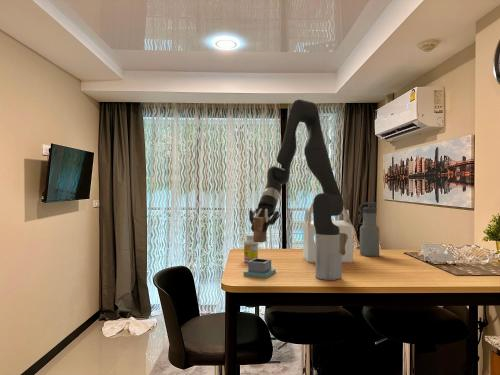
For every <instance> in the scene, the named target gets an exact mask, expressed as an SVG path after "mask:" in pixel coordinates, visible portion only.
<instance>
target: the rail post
mask: <svg viewBox="0 0 500 375" xmlns="http://www.w3.org/2000/svg"><path fill="white" fill-rule="evenodd" d="M265 219H266V217H255V216H254V232H253V234H254V242H258V243H265V242H267V231H265V233H263V231H262V228H263V225H264V223H265Z"/></svg>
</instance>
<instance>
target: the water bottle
mask: <svg viewBox="0 0 500 375" xmlns="http://www.w3.org/2000/svg"><path fill="white" fill-rule="evenodd" d="M367 205H369V206H367ZM376 205H377V203H376V202H375V201H374V202H373V201H371V202H370V201H367V202H362V203H361V204H359V206H358V212H359V214H358V216H357V217H358V220H357V222H358V225H360V227H359V254H360V255H361V256H363V255H365V256H364V257H379V256H380V227H379V226H378V225H377V212H378V211H377V207H376ZM361 216H362V222H361Z"/></svg>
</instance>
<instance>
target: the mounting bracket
mask: <svg viewBox="0 0 500 375" xmlns="http://www.w3.org/2000/svg"><path fill="white" fill-rule="evenodd" d="M421 247H422V248H421V249H422V253H423V259H424V261H425V260H430V261H431V262H430V263H432V262H434V263H437V262H444V263H446V262H445V261H452V262H454V261H456V262H457V260H456V258H455V256H454V255H453V252H451V250H450V249H449V248H448V249H445V250H444V247H443V246H442V244H437V243H435V244H434V243H431V244H430V243H424V244H422V245H421ZM430 250H434V251H436V252H433V253H429V251H430Z"/></svg>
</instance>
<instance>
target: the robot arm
mask: <svg viewBox="0 0 500 375" xmlns="http://www.w3.org/2000/svg"><path fill="white" fill-rule="evenodd" d="M320 118H321V117H320V112H319V108H318V106H317V104H316V103H314V102H313V101H308V100H305V99H300V98H299V99H295V100H294V101H293V102H292V104H291V106H290V109H289V112H288V115H287V121H286V125H285V126H286V127H285V130H284V135H283V140H282V143H281V146H280V149H279V151H278V153H277V157H276V162H277V163H279V165H281V166H283V168H282V167H279V166H277V165H271V166H270V167H268V169H267V172H266V185H265V188H264V190H263V192H262V194H261V197H260V198H259V201H258V205H257V208H256V209H255V210H252V209H249V213H248V214H249V222H250V225H251V227H250V229H251V232H252V233H254V217H266V219H265V223H264V225H263V228H262V231H263V233H265V231H266V232H267V230H268V228H269V226H270V225H271V226H274V225H275V223H276V222H277V221H278V220H279V218H280V217H281V214H280V211H279V210H276V207H277V205H278V202H279V199H280V194H281V191H282V185H287V183H288V182H289V181H290V172H291V164H292V162H293V159H294V156H296V155H295V154H296V152H297V146H298V145H297V137H296V136H297V128H298V126H299V125H300V123H304V125H305V127H306V130H307V131H306V132H307V139H306V142H305V145H304V150H303V151H304V157H305V161H306V165H307V167H308V169H309V170H310V172H311V173H312V174H313V176H314V177H315V178H316V180H317V181H318V183H319V184H320V186H321V188H322V192H321V193H318V194H316V195H315V196H314V198H313V201H312V203H313V213H312V216H313V218H312V220H313V221H314V227H315V230H316V234H315V244H316V262H315V277H316V279H319V280H325V281H326V280H327V281H336V280H339V279H342V278H343V276H342V275H343V274H342V273H343V272H342V270H343V262H342V254H341V253H339V236H340V231H339V227H338V226H336V225H334V224H333V223H332V220H333V219H332V217H336V216H340V215H341V214H343V213H342V211H343V208H344V209H345V204H344V200H343V196H342V193H341V191H340V188H339V186H338V183H337V181H336V178H335V175H334V170H333V168H332V164H331V161H330V156H329V153H328V148H327V146H326V142H325V139H324V135H323V131H322V130H323V129H322V126H321V119H320ZM275 210H276V211H275Z"/></svg>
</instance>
